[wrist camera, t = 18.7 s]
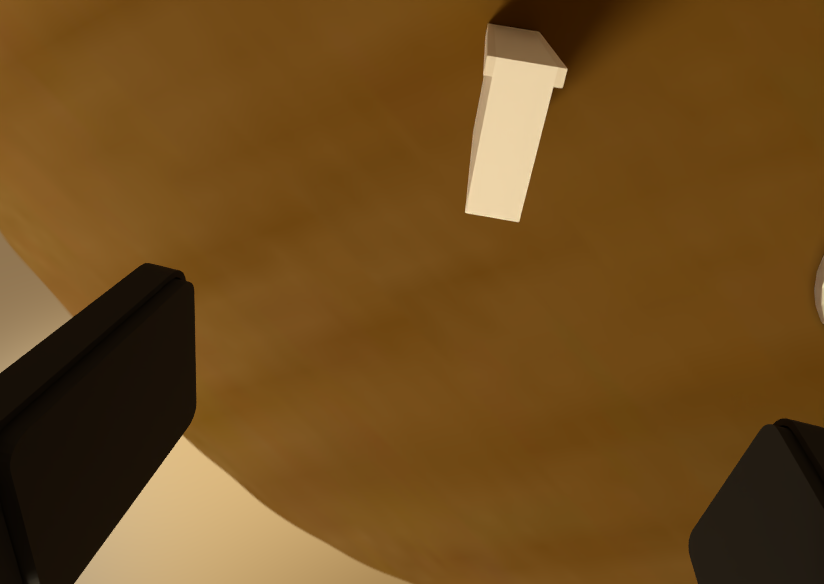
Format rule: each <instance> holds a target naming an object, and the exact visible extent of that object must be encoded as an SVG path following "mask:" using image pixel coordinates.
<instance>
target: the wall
mask: <svg viewBox="0 0 824 584" xmlns="http://www.w3.org/2000/svg"><path fill="white" fill-rule="evenodd" d="M567 70H568V69H567V67H566V66H565V65H564V63H563V62H562V61H561V60H560V58H559V57H558V56H557V54H556V53H555V52H554V50H553V49H552V48H551V46H550V45H549V44H548V42H547V41H546V40H545V39H544V37H543V36H542V35H541V33H540V32H538V31H532V30H526V29H520V28H514V27H507V26H501V25H495V24H489V23H488V26H487V31H486V38H485V54H484V70H483V75H484V78H483V84H482V89H481V94H480V99H479V104H478V110H477V115H476V120H475V125H474V130H473V139H472V149H471V159H470V169H469V179H468V189H467V199H466V209H465V213H469V214H475V215H481V216H486V217H492V218H498V219H503V220H509V221H515V222H519V220H520V216H521V212H522V208H523V204H524V200H525V196H526V192H527V188H528V184H529V180H530V177H531V173H532V169H533V165H534V161H535V157H536V153H537V149H538V145H539V141H540V137H541V133H542V129H543V125H544V122H545V118H546V114H547V110H548V106H549V102H550V98H551V94H552V90H553V87H557V88H563V85H564V81H565V77H566V73H567Z"/></svg>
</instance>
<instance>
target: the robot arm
mask: <svg viewBox="0 0 824 584" xmlns="http://www.w3.org/2000/svg"><path fill="white" fill-rule="evenodd" d="M814 293H815V304H816V308H817V311H818V314H819V316H820V319H821V321H822V323H823V324H824V256H823V258H822V261H821V263H820V266H819V268H818V271H817V276H816V282H815V288H814ZM195 410H196V359H195V306H194V287H193V284H192V283H190V282H187V281H186V279H185V276H184V274H183V272H181V271H179V270H175V269H171V268H167V267H163V266H159V265H155V264H151V263H144V264H143V265H141V266H139V267H138V268H137V269H135V270H134V271H133V272H131V273H130V274H129V275H128V276H126V277H125V278H124V279H122V280H121V281H120V282H118V283H117V284H116V285H115V286H113V287H112V288H111V289H109V290H108V291H107V292H105V293H104V294H103V295H101V296H100V297H99V298H98V299H96V300H95V301H94V302H92V303H91V304H90V305H88V306H87V307H86V308H85V309H83V310H82V311H81V312H79V313H78V314H77V315H75V316H74V317H73V318H72V319H70V320H69V321H68V322H66V323H65V324H64V325H62V326H61V327H60V328H59V329H57V330H56V331H55V332H53V333H52V334H51V335H49V336H48V337H47V338H46V339H44V340H43V341H42V342H40V343H39V344H38V345H36V346H35V347H34V348H33V349H31V350H30V351H29V352H27V353H26V354H25V355H23V356H22V357H21V358H20V359H18V360H17V361H16V362H15V363H13V364H12V365H10V366H9V367H8V368H7V369H5V370H4V371H3V372H1V373H0V584H74V583H75V582H76V580H77V579H78V577H79V576H80V575H81V573H82V572H83V571H84V569H85V568H86V567H87V565H88V564H89V562H90V561H91V560H92V558H93V557H94V555H95V554H96V552H97V551H98V550H99V549H100V547H101V546H102V545H103V543H104V542H105V540H106V539H107V538H108V536H109V535H110V534H111V532H112V531H113V529H114V528H115V527H116V525H117V524H118V523H119V521H120V520H121V518H122V517H123V515H124V514H125V513H126V512H127V510H128V509H129V508H130V506H131V505H132V503H133V502H134V501H135V499H136V498H137V496H138V495H139V494H140V492H141V491H142V490H143V488H144V487H145V486H146V484H147V483H148V481H149V480H150V479H151V477H152V476H153V475H154V473H155V472H156V470H157V469H158V468H159V466H160V465H161V464H162V462H163V461H164V459H165V458H166V457H167V455H168V454H169V453H170V451H171V450H172V448H173V447H174V446H175V444H176V443H177V442H178V440H179V439H180V437H181V436H182V435H183V433H184V432H185V431H186V429H187V428H188V426H189V425H190V423H191V421H192V419H193V417H194V414H195ZM689 554H690V558H691V562H692V565H693V568H694V572H695V575H696V578H697V582H698V584H824V428H822V427H819V426H815V425H811V424H807V423H803V422H799V421H794V420H790V419H780V420H778V421H776V422H775V423H774V424H773V425H772V424H768V425H765V426H764V427H763V428H762V429H761V430H760V431H759V433H758V434H757V436H756V437H755V439H754V440H753V441H752V443H751V444H750V446H749V447H748V449H747V450H746V452H745V453H744V455H743V456H742V458H741V459H740V461H739V462H738V464H737V465H736V467H735V468H734V470H733V471H732V473H731V474H730V476H729V477H728V478H727V480H726V481H725V483H724V484H723V486H722V487H721V489H720V490H719V492H718V493H717V495H716V496H715V498H714V499H713V501H712V502H711V504H710V505H709V507H708V508H707V510H706V511H705V513H704V514H703V515H702V517H701V518H700V520H699V521H698V523H697V524H696V526H695V527H694V529H693V530H692V532H691V535H690V538H689Z"/></svg>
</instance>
